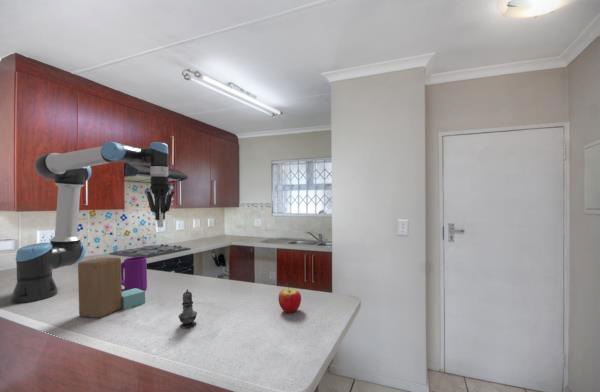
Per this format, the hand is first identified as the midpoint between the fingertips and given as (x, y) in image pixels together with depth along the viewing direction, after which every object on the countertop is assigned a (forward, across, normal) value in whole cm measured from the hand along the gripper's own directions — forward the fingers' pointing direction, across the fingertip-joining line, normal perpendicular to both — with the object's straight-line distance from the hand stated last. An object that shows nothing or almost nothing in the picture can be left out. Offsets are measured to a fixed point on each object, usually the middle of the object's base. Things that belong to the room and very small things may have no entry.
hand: (160, 226), depth 132 cm
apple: (+29, +16, -65) cm, 73 cm away
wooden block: (+30, -26, -7) cm, 40 cm away
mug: (+30, -8, +13) cm, 34 cm away
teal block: (+30, -16, -7) cm, 34 cm away
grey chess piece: (+29, -12, -45) cm, 55 cm away
